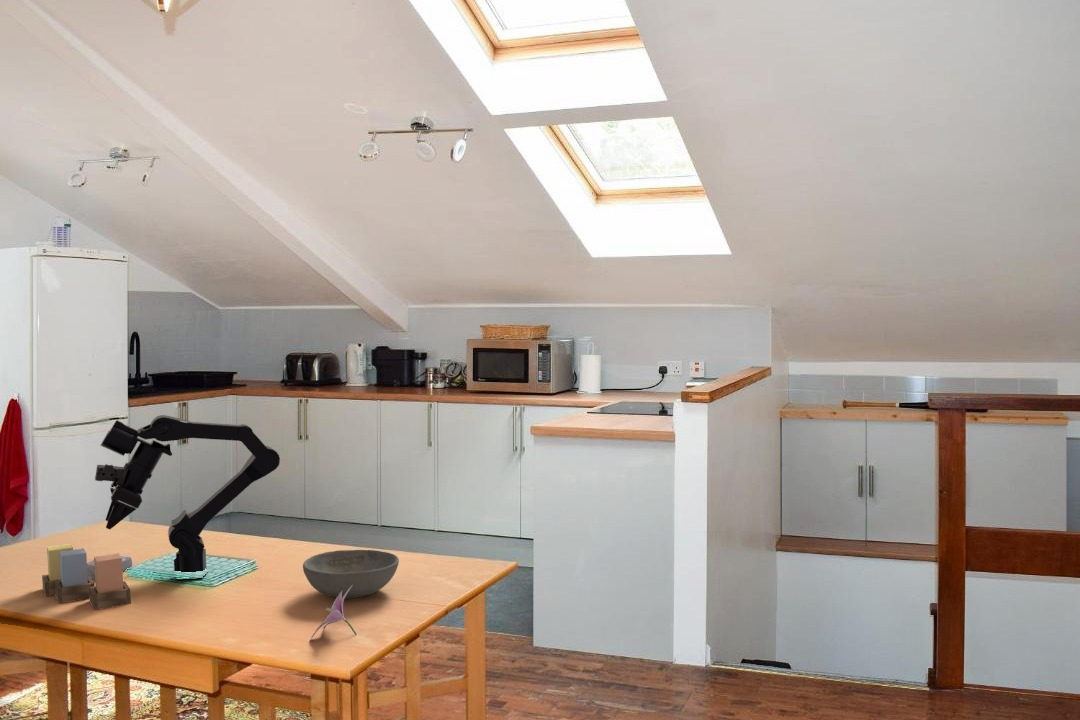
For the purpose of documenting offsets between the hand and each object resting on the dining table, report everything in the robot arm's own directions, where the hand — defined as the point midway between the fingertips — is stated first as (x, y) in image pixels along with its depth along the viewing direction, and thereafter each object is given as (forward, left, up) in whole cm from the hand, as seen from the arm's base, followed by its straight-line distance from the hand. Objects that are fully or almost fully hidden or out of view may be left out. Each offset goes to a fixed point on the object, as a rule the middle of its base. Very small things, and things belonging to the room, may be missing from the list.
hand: (107, 524), depth 218 cm
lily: (-56, +42, -15) cm, 72 cm away
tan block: (-4, +12, -12) cm, 17 cm away
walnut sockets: (+4, +6, -15) cm, 16 cm away
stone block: (+7, -13, -15) cm, 21 cm away
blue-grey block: (+6, +5, -12) cm, 15 cm away
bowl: (-57, +16, -15) cm, 61 cm away
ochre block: (+11, -1, -12) cm, 16 cm away
